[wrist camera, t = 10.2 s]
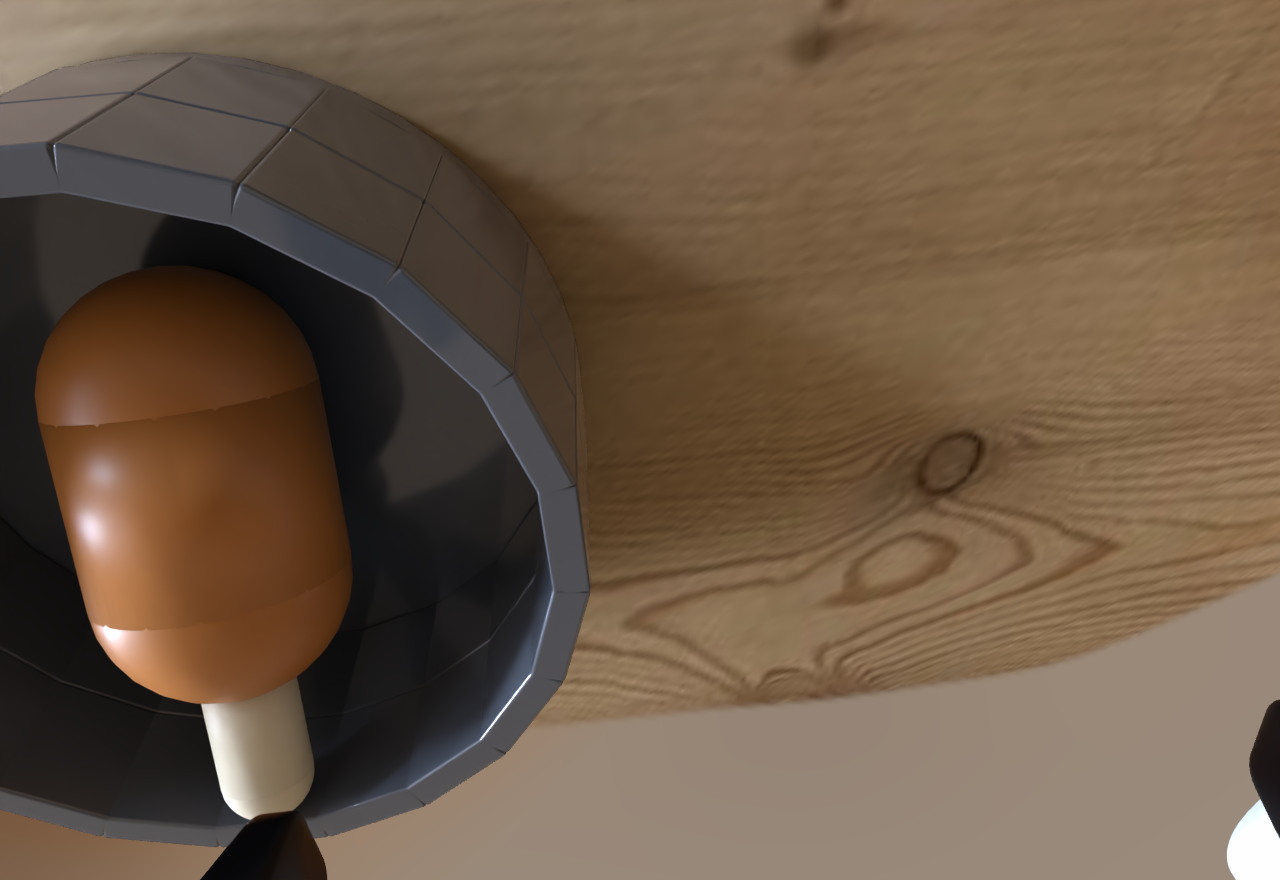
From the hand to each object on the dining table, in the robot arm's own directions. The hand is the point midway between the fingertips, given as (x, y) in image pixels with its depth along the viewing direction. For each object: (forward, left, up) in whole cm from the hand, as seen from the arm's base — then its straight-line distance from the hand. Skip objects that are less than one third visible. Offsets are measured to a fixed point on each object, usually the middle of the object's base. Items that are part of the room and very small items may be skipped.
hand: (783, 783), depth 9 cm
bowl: (-4, +8, -11) cm, 14 cm away
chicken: (-5, +7, -10) cm, 13 cm away
